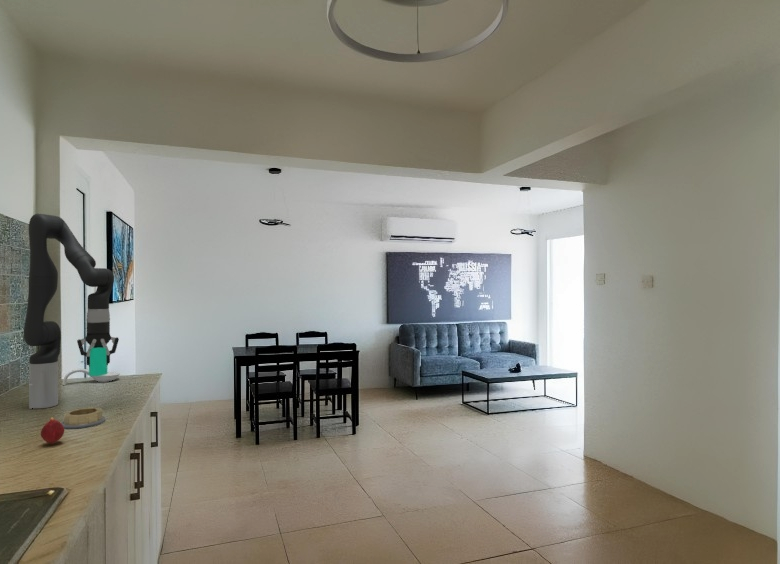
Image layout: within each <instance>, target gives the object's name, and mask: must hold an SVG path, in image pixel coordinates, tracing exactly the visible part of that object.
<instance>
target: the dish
mask: <svg viewBox="0 0 780 564" xmlns="http://www.w3.org/2000/svg"><path fill="white" fill-rule="evenodd" d="M103 422H104V423H105V422H106V416H104V415H102V419H101V420H99V421H97V422H93V423H89V424H83V425H66V424H64V420H63V421H61V422H60V423H61V424H62V425H63V427H64V428H65V429H64V430H77V429H78V430H80V429H86V428H92V427H96V426H99V425H101V423H102V424H103ZM98 424H99V425H98ZM95 425H96V426H95ZM91 426H92V427H91ZM79 428H80V429H79Z"/></svg>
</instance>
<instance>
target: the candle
mask: <svg viewBox="0 0 780 564" xmlns="http://www.w3.org/2000/svg"><path fill="white" fill-rule="evenodd" d="M89 348H90V347H89V346H88V349H89ZM88 370H89V375H90V376H100V375H106V374H107V372H108V365H107V350H106V348H103V347H97V348H92V347H91V351H90V367H89V366H88ZM89 375H88V376H89ZM90 376H89V377H90Z"/></svg>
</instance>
